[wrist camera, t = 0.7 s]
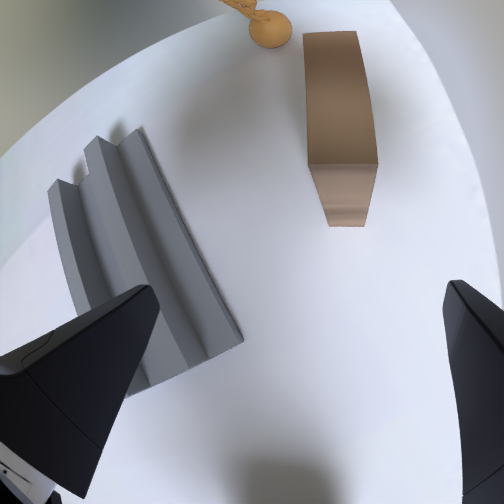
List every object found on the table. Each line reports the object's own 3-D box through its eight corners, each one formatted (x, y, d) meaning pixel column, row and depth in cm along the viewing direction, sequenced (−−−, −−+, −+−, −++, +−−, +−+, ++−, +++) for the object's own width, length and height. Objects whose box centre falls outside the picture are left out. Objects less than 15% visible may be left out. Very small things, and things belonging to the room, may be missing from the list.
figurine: (309, 61, 22) (274, -46, 11) (247, 83, 24) (186, -13, 13) (281, 16, 24) (244, -70, 13) (229, 35, 26) (178, -45, 14)
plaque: (364, 226, 20) (378, 164, 9) (329, 226, 21) (307, 164, 10) (359, 136, 20) (356, 31, 10) (327, 137, 21) (302, 33, 11)
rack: (244, 341, 21) (222, 351, 18) (125, 398, 24) (96, 409, 21) (142, 133, 27) (117, 116, 23) (60, 213, 30) (35, 206, 26)
